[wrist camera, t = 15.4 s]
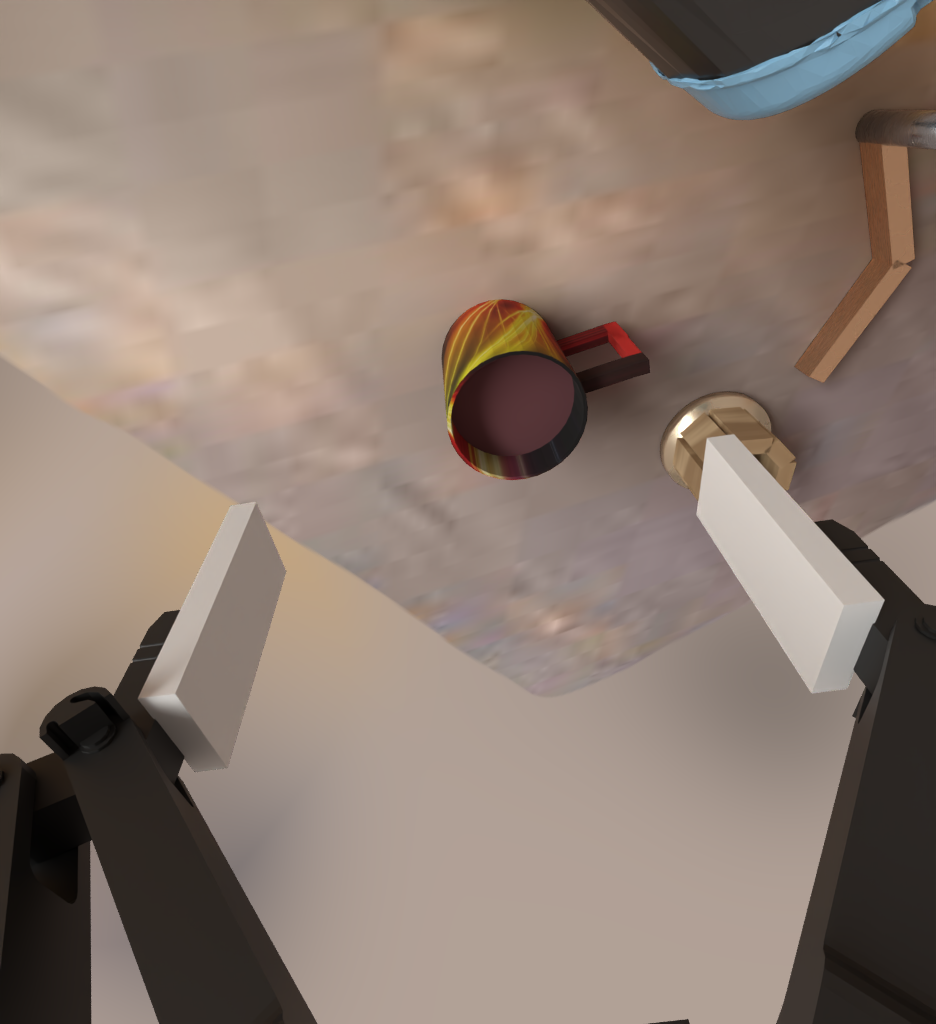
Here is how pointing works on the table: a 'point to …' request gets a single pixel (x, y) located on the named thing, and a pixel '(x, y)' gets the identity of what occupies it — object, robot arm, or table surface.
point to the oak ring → (746, 430)
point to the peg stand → (694, 412)
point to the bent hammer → (876, 230)
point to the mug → (522, 387)
